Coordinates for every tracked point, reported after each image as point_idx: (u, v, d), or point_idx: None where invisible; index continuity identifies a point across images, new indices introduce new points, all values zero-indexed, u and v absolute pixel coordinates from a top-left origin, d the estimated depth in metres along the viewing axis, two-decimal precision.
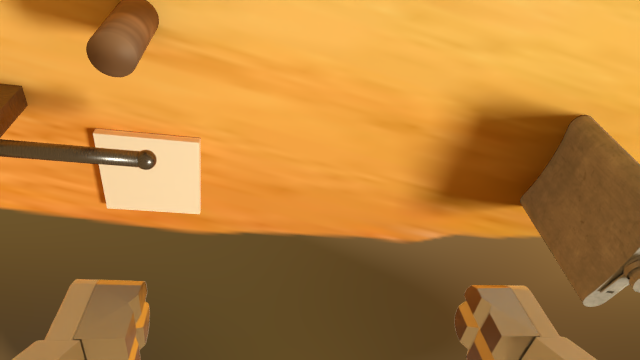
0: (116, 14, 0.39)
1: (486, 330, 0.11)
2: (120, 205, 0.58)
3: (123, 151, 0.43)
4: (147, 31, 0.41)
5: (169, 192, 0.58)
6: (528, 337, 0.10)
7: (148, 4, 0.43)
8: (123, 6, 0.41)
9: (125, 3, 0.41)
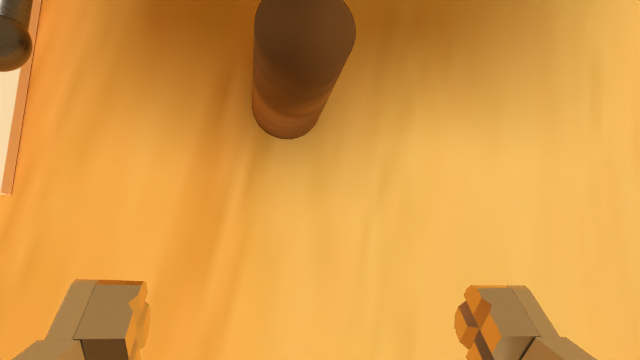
0: None
1: (486, 330, 0.11)
2: None
3: None
4: (302, 113, 0.21)
5: None
6: (528, 337, 0.10)
7: (312, 126, 0.26)
8: None
9: None
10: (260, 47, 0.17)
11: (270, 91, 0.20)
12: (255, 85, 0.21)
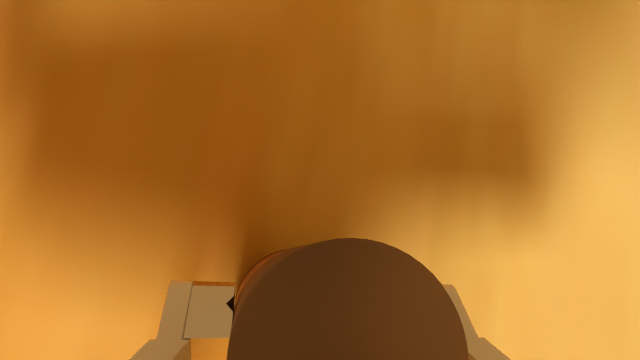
0: None
1: None
2: None
3: None
4: None
5: None
6: None
7: None
8: None
9: None
10: None
11: None
12: None
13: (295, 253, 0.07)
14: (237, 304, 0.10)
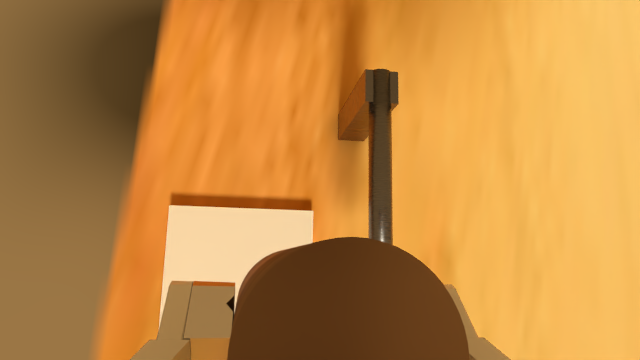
0: None
1: None
2: (176, 226, 0.36)
3: None
4: None
5: None
6: None
7: None
8: None
9: None
10: None
11: None
12: None
13: (296, 252, 0.07)
14: (238, 303, 0.10)
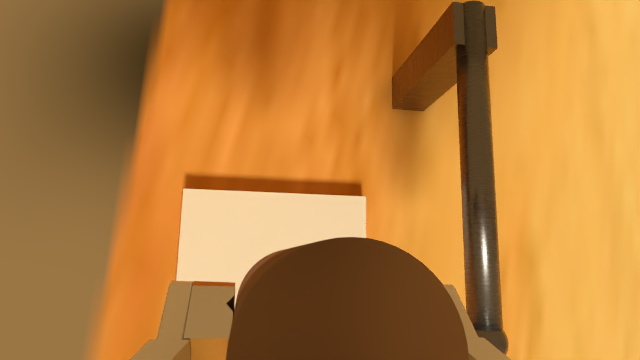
0: None
1: None
2: (193, 215, 0.28)
3: None
4: None
5: None
6: None
7: None
8: None
9: None
10: None
11: None
12: None
13: (295, 252, 0.07)
14: (237, 303, 0.09)
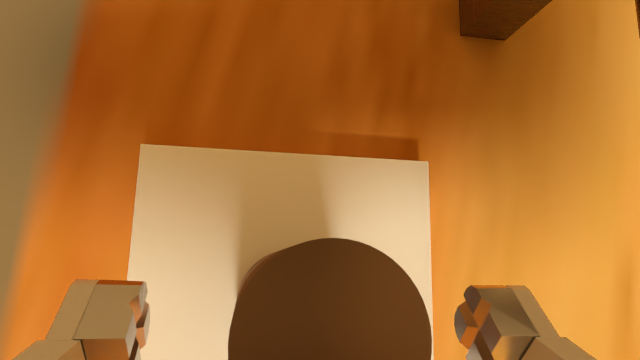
0: None
1: (485, 330, 0.11)
2: (155, 187, 0.17)
3: None
4: None
5: None
6: (528, 337, 0.10)
7: None
8: None
9: None
10: None
11: None
12: None
13: (286, 250, 0.09)
14: (238, 296, 0.11)
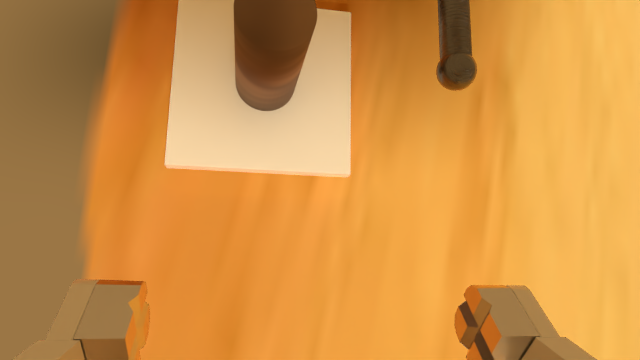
0: None
1: (485, 330, 0.11)
2: (188, 16, 0.30)
3: None
4: (277, 86, 0.25)
5: (226, 110, 0.29)
6: (528, 337, 0.10)
7: (288, 100, 0.29)
8: None
9: None
10: (238, 27, 0.21)
11: (248, 65, 0.23)
12: (236, 61, 0.25)
13: None
14: None
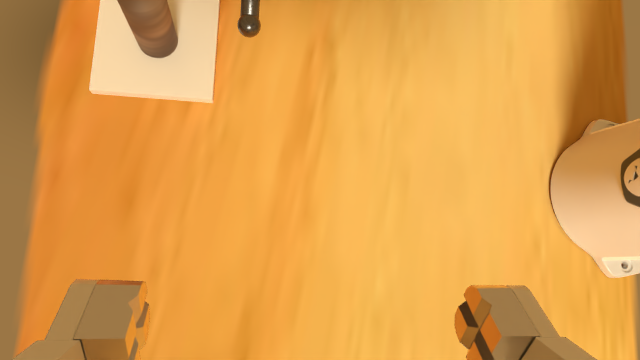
0: (170, 13, 0.42)
1: (486, 330, 0.11)
2: None
3: None
4: (152, 37, 0.41)
5: (131, 57, 0.45)
6: (528, 337, 0.10)
7: (171, 51, 0.46)
8: (173, 25, 0.44)
9: (174, 29, 0.44)
10: None
11: (130, 23, 0.40)
12: None
13: None
14: None
